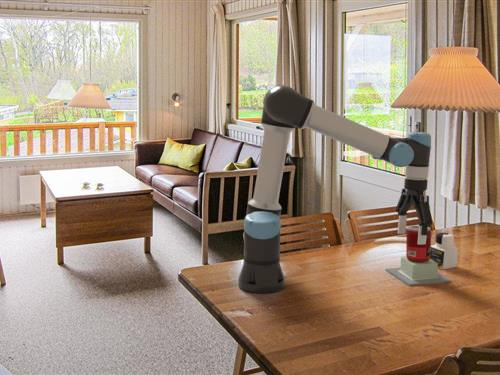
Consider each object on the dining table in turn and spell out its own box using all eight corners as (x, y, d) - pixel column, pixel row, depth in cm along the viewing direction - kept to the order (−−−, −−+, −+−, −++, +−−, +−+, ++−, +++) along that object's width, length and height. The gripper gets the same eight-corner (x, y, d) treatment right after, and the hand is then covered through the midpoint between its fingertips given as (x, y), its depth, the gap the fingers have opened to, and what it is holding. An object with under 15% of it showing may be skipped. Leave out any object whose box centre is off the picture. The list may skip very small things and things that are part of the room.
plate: (409, 285, 192) (409, 283, 192) (385, 270, 207) (385, 268, 207) (451, 281, 196) (451, 279, 196) (425, 267, 211) (425, 265, 211)
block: (412, 279, 196) (413, 265, 196) (400, 270, 205) (401, 256, 204) (436, 277, 198) (437, 263, 197) (424, 269, 207) (424, 255, 206)
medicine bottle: (428, 264, 215) (430, 232, 213) (442, 261, 218) (444, 230, 216) (442, 269, 209) (445, 237, 206) (457, 267, 212) (459, 235, 210)
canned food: (432, 262, 196) (432, 229, 195) (407, 261, 198) (407, 229, 196) (428, 256, 204) (429, 225, 203) (405, 256, 205) (405, 225, 204)
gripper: (447, 184, 187) (441, 248, 191) (407, 172, 211) (403, 229, 215) (426, 184, 185) (420, 249, 189) (388, 172, 209) (384, 229, 213)
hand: (411, 238), depth 202 cm, fingers open, 13 cm apart
